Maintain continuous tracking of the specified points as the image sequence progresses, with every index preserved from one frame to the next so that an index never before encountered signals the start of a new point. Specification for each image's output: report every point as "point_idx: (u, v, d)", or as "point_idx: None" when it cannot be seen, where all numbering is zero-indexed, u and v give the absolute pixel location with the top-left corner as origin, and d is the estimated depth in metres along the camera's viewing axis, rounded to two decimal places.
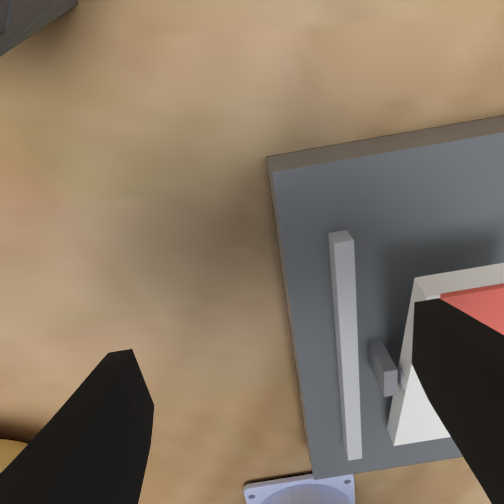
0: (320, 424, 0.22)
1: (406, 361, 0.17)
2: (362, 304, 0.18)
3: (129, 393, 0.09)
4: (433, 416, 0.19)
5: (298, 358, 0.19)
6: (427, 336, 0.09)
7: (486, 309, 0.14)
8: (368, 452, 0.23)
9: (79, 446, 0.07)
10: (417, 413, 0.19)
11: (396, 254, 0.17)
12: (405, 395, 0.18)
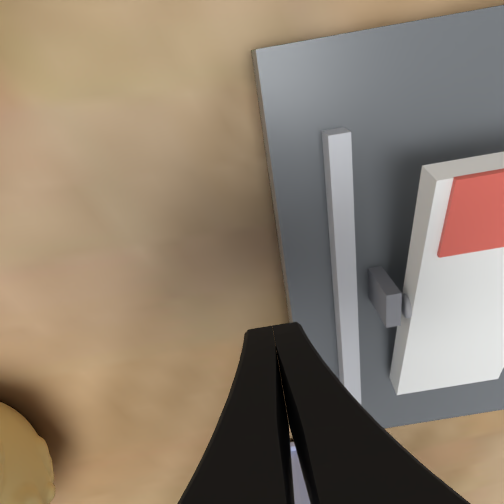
0: None
1: (411, 281, 0.15)
2: (360, 223, 0.16)
3: (279, 369, 0.09)
4: (442, 356, 0.17)
5: (289, 290, 0.17)
6: None
7: None
8: (368, 407, 0.21)
9: (276, 414, 0.07)
10: (424, 351, 0.17)
11: (399, 160, 0.15)
12: (411, 325, 0.16)
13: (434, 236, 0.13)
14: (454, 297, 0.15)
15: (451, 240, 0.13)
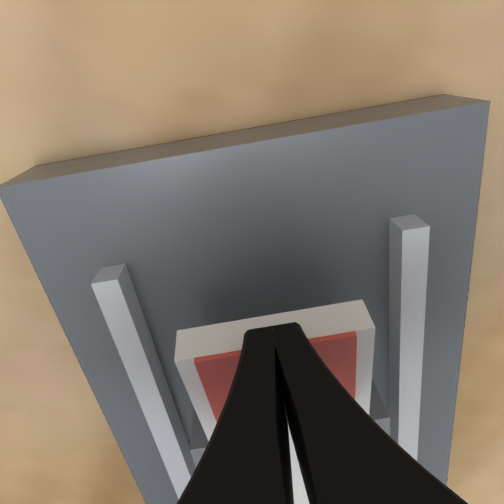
0: (162, 497, 0.17)
1: None
2: (174, 356, 0.14)
3: (278, 369, 0.09)
4: None
5: (108, 422, 0.15)
6: None
7: None
8: None
9: (275, 414, 0.07)
10: None
11: (202, 294, 0.13)
12: None
13: (204, 406, 0.11)
14: None
15: None
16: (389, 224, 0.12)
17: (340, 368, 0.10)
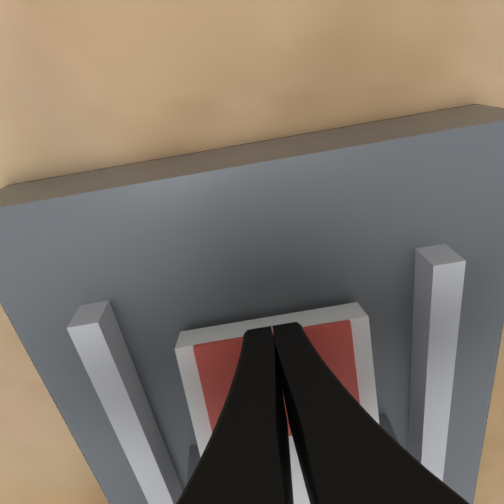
0: None
1: None
2: (166, 401, 0.12)
3: (278, 369, 0.09)
4: None
5: (93, 471, 0.13)
6: None
7: None
8: None
9: (275, 414, 0.07)
10: None
11: None
12: None
13: (201, 418, 0.10)
14: None
15: None
16: (416, 255, 0.10)
17: (339, 367, 0.10)
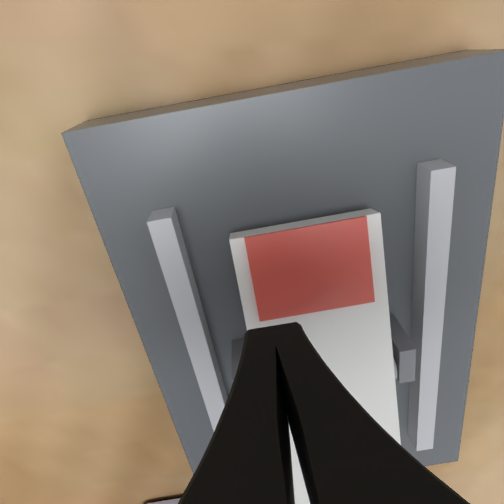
0: (197, 439, 0.19)
1: None
2: (214, 298, 0.15)
3: (279, 369, 0.09)
4: None
5: (152, 363, 0.16)
6: (278, 361, 0.09)
7: (303, 259, 0.13)
8: None
9: (276, 414, 0.07)
10: (293, 451, 0.15)
11: None
12: None
13: (249, 298, 0.13)
14: None
15: (265, 301, 0.13)
16: (417, 169, 0.13)
17: (357, 254, 0.13)
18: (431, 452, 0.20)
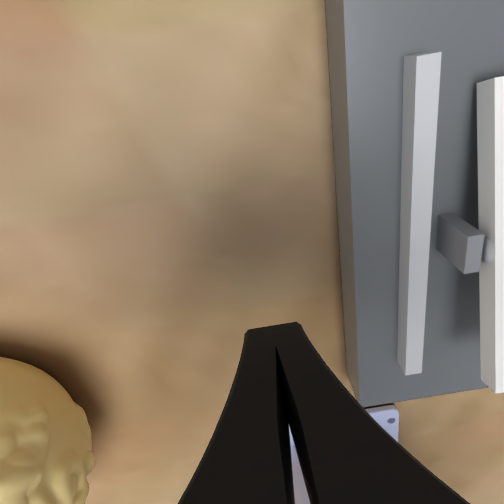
0: (373, 333, 0.19)
1: (487, 213, 0.14)
2: (435, 163, 0.15)
3: (279, 368, 0.09)
4: None
5: (354, 239, 0.16)
6: None
7: None
8: (425, 372, 0.20)
9: (277, 414, 0.07)
10: None
11: None
12: (496, 269, 0.14)
13: (503, 143, 0.13)
14: None
15: None
16: None
17: None
18: None
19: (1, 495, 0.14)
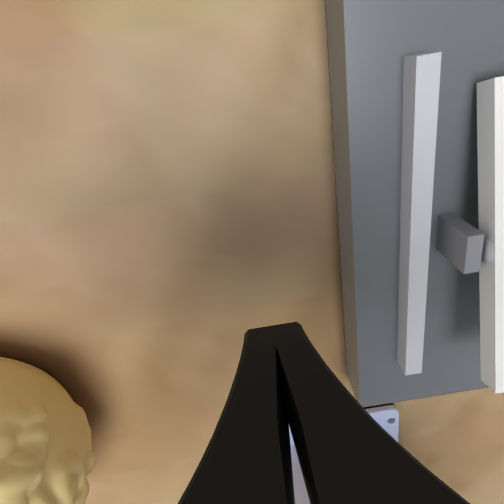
0: (373, 333, 0.19)
1: (487, 213, 0.14)
2: (435, 163, 0.15)
3: (279, 368, 0.09)
4: None
5: (354, 239, 0.16)
6: None
7: None
8: (425, 372, 0.20)
9: (277, 414, 0.07)
10: None
11: None
12: (496, 269, 0.14)
13: (503, 143, 0.13)
14: None
15: None
16: None
17: None
18: None
19: (1, 495, 0.14)
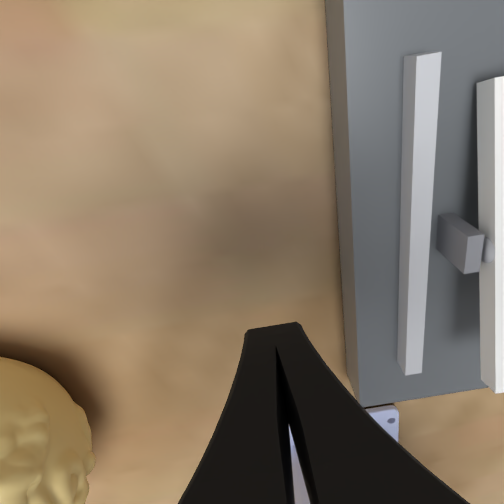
0: (373, 333, 0.19)
1: (487, 213, 0.14)
2: (435, 163, 0.15)
3: (279, 368, 0.09)
4: None
5: (354, 239, 0.16)
6: None
7: None
8: (425, 372, 0.20)
9: (277, 414, 0.07)
10: None
11: None
12: (496, 269, 0.14)
13: (503, 143, 0.13)
14: None
15: None
16: None
17: None
18: None
19: (1, 495, 0.14)
